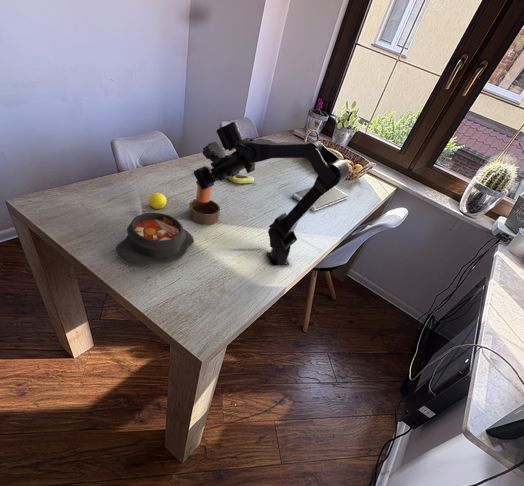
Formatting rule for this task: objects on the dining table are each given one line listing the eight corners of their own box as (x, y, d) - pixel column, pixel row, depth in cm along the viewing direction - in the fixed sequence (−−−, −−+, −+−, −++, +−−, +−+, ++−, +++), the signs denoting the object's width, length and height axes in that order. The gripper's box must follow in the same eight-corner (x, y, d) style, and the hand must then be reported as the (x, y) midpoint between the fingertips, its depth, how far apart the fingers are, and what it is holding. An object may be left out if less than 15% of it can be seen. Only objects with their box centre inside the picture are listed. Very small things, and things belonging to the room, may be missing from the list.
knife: (195, 177, 151) (253, 187, 157) (195, 171, 149) (254, 181, 155) (195, 168, 157) (252, 178, 162) (196, 162, 155) (253, 173, 160)
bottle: (211, 203, 127) (215, 171, 119) (197, 202, 125) (201, 170, 117) (208, 195, 130) (212, 164, 122) (194, 195, 128) (198, 163, 120)
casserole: (167, 222, 125) (168, 200, 119) (206, 250, 119) (209, 228, 113) (102, 247, 108) (99, 223, 102) (143, 281, 102) (143, 258, 96)
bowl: (221, 226, 130) (223, 215, 127) (191, 225, 126) (192, 214, 123) (214, 209, 137) (216, 198, 134) (185, 208, 133) (186, 197, 130)
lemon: (153, 213, 126) (154, 200, 122) (144, 205, 128) (144, 192, 125) (170, 209, 131) (171, 195, 127) (161, 201, 133) (161, 188, 129)
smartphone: (290, 196, 159) (292, 193, 158) (326, 185, 176) (327, 181, 174) (313, 212, 154) (315, 208, 152) (347, 198, 170) (349, 195, 169)
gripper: (238, 132, 118) (207, 152, 128) (202, 144, 105) (170, 165, 115) (253, 165, 121) (222, 182, 131) (220, 181, 108) (188, 198, 118)
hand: (201, 181), depth 124 cm, fingers closed on bottle, 5 cm apart
